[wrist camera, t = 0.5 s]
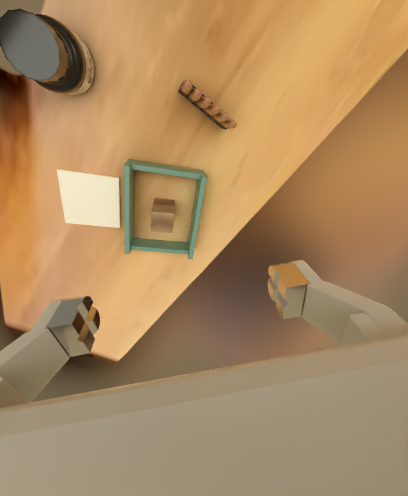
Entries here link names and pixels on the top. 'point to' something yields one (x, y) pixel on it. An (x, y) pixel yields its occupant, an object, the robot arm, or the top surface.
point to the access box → (129, 208)
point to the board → (90, 198)
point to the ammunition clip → (206, 105)
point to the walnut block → (162, 215)
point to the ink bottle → (46, 52)
